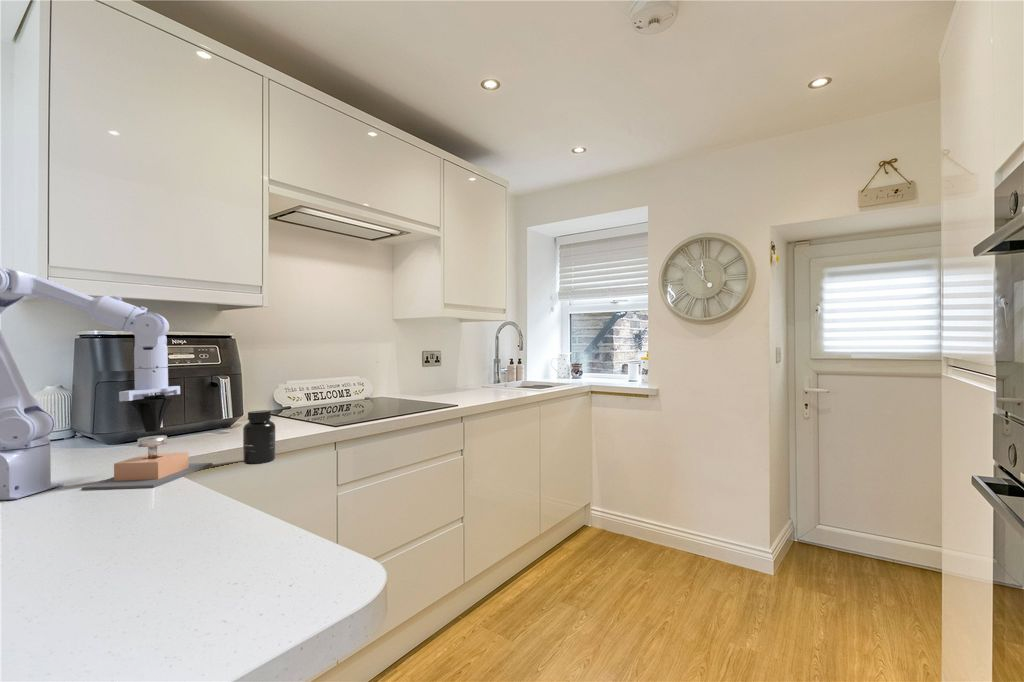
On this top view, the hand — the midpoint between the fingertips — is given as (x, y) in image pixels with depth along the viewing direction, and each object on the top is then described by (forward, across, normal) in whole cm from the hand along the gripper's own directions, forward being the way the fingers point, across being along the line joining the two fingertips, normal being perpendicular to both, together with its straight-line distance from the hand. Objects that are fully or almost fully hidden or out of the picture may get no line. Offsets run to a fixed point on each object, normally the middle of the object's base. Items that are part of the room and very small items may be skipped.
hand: (152, 431), depth 99 cm
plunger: (+6, 0, 0) cm, 6 cm away
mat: (+10, 0, 0) cm, 10 cm away
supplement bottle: (+10, +11, -17) cm, 23 cm away
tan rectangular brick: (+10, 0, 0) cm, 10 cm away
